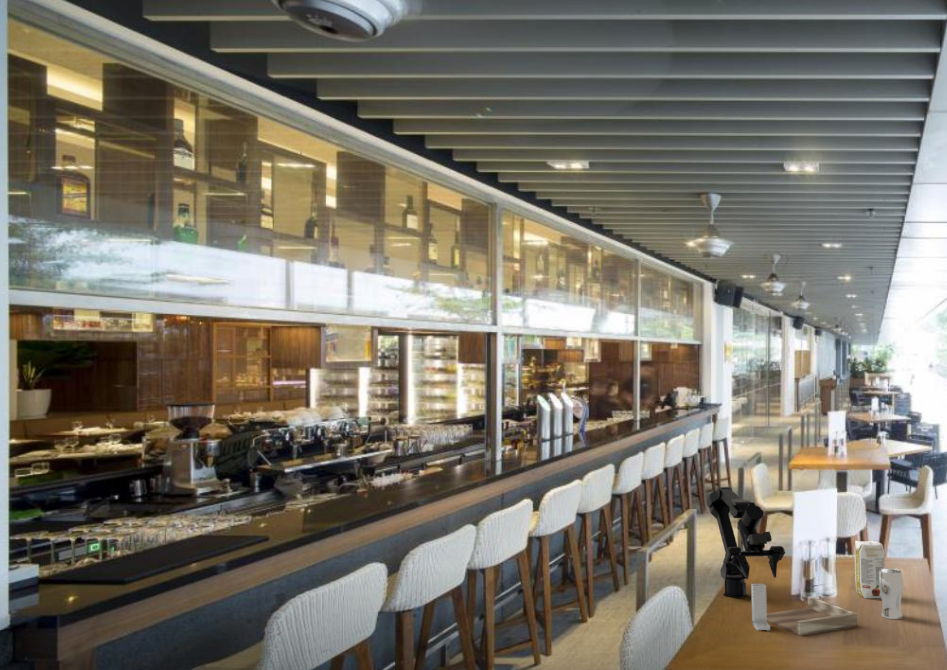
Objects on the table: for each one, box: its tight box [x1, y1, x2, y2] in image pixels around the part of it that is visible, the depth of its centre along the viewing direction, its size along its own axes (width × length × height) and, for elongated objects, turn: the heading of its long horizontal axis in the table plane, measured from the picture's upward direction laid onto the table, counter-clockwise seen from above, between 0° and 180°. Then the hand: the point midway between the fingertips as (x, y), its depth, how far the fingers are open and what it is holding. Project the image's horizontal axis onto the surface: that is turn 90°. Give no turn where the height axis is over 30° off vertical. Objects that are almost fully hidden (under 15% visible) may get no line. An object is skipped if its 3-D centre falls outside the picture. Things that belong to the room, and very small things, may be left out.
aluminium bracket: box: [750, 583, 771, 632], centre depth 261 cm, size 6×4×13 cm, turn 175°
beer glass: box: [879, 567, 904, 620], centre depth 269 cm, size 7×7×15 cm
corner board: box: [767, 596, 858, 637], centre depth 266 cm, size 20×22×4 cm
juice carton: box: [854, 540, 886, 599], centre depth 292 cm, size 8×9×19 cm
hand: (761, 577), depth 270 cm, fingers open, 9 cm apart
